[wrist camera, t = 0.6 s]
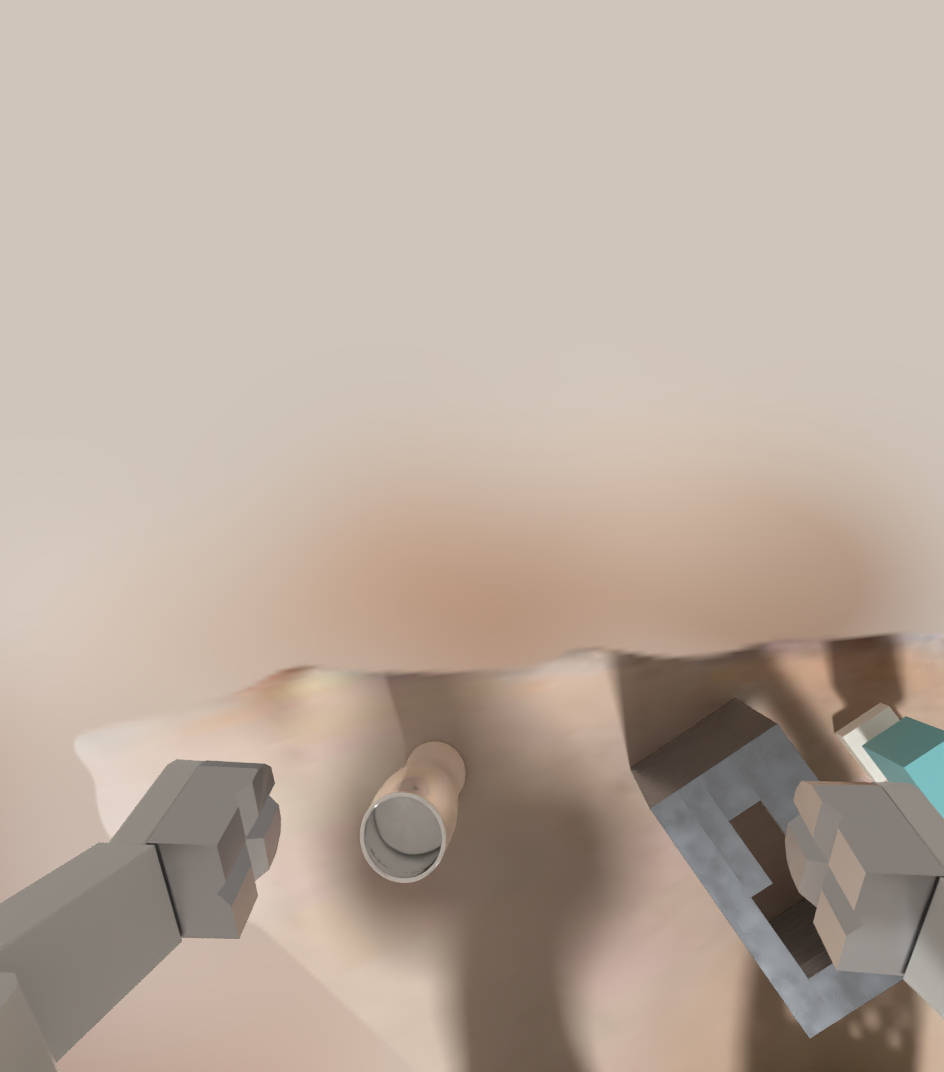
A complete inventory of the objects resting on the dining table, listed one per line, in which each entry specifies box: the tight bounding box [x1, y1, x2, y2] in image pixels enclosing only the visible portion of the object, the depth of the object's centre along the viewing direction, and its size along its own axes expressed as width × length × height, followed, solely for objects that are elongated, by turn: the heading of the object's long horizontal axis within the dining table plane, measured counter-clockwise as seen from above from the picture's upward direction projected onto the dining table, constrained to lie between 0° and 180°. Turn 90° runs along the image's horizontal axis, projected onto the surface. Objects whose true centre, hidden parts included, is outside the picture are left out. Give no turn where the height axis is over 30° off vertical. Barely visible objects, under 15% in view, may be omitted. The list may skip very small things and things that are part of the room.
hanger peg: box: [835, 703, 944, 818], centre depth 51 cm, size 5×5×10 cm
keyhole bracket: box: [631, 698, 904, 1038], centre depth 51 cm, size 20×12×10 cm, turn 35°
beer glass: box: [360, 741, 466, 883], centre depth 52 cm, size 7×7×15 cm
